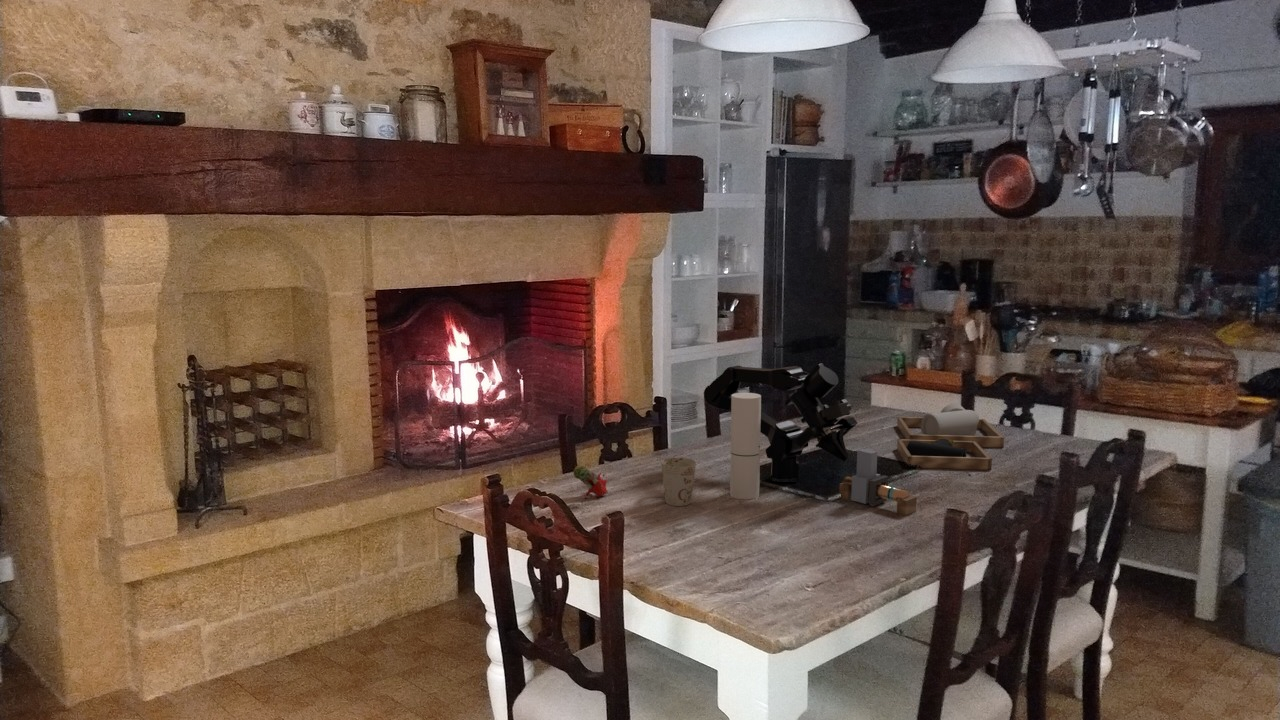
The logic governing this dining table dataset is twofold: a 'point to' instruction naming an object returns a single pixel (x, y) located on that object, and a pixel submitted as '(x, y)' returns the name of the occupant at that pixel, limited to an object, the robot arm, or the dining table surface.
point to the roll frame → (983, 441)
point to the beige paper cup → (678, 480)
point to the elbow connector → (951, 422)
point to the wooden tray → (976, 462)
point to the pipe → (883, 491)
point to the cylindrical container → (745, 445)
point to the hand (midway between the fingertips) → (846, 460)
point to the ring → (872, 490)
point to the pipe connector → (936, 449)
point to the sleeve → (864, 475)
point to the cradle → (903, 505)
